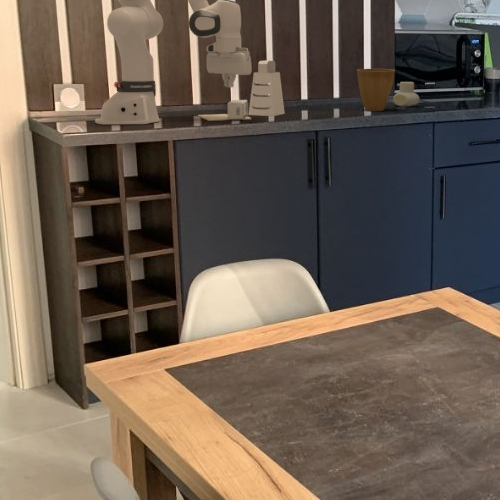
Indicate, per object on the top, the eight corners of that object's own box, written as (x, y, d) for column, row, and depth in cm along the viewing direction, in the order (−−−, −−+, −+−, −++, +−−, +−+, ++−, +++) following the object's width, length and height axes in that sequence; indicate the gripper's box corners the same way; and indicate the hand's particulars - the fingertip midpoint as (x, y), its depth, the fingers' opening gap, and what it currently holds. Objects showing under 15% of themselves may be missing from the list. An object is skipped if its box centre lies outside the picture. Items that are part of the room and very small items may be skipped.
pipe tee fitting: (422, 106, 349) (423, 82, 346) (410, 107, 344) (411, 83, 341) (401, 105, 357) (402, 81, 354) (389, 106, 351) (390, 82, 349)
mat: (208, 120, 297) (208, 119, 297) (198, 116, 312) (198, 114, 312) (251, 119, 301) (251, 117, 301) (239, 114, 316) (239, 113, 316)
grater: (248, 114, 317) (248, 61, 312) (260, 112, 326) (260, 60, 321) (273, 116, 312) (273, 61, 307) (284, 113, 321) (285, 60, 316)
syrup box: (242, 102, 295) (248, 99, 309) (226, 102, 296) (232, 99, 310) (243, 119, 297) (248, 115, 310) (226, 119, 297) (233, 115, 311)
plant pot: (349, 109, 338) (350, 69, 334) (382, 108, 343) (384, 68, 339) (365, 112, 325) (367, 70, 320) (399, 111, 329) (401, 70, 325)
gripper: (255, 47, 288) (255, 88, 292) (216, 46, 302) (216, 85, 306) (242, 47, 284) (242, 89, 287) (203, 46, 298) (203, 86, 302)
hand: (229, 87), depth 297 cm, fingers closed
